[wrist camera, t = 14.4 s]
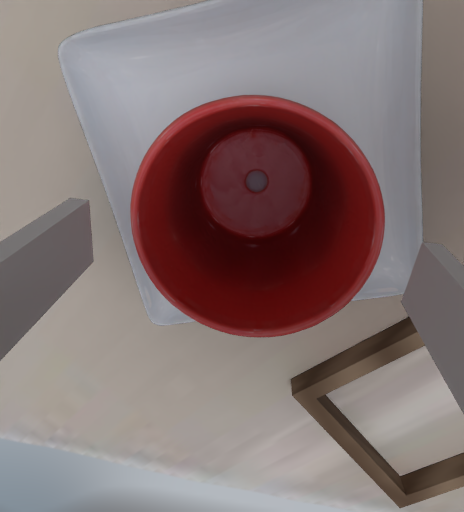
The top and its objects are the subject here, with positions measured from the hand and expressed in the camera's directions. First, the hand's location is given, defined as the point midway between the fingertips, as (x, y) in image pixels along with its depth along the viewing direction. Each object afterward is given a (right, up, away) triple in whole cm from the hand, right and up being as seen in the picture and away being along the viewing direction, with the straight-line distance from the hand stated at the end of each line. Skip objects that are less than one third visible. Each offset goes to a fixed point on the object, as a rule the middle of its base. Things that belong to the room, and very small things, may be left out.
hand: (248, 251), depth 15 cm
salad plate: (+1, +6, +13) cm, 15 cm away
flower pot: (+1, +5, +10) cm, 11 cm away
